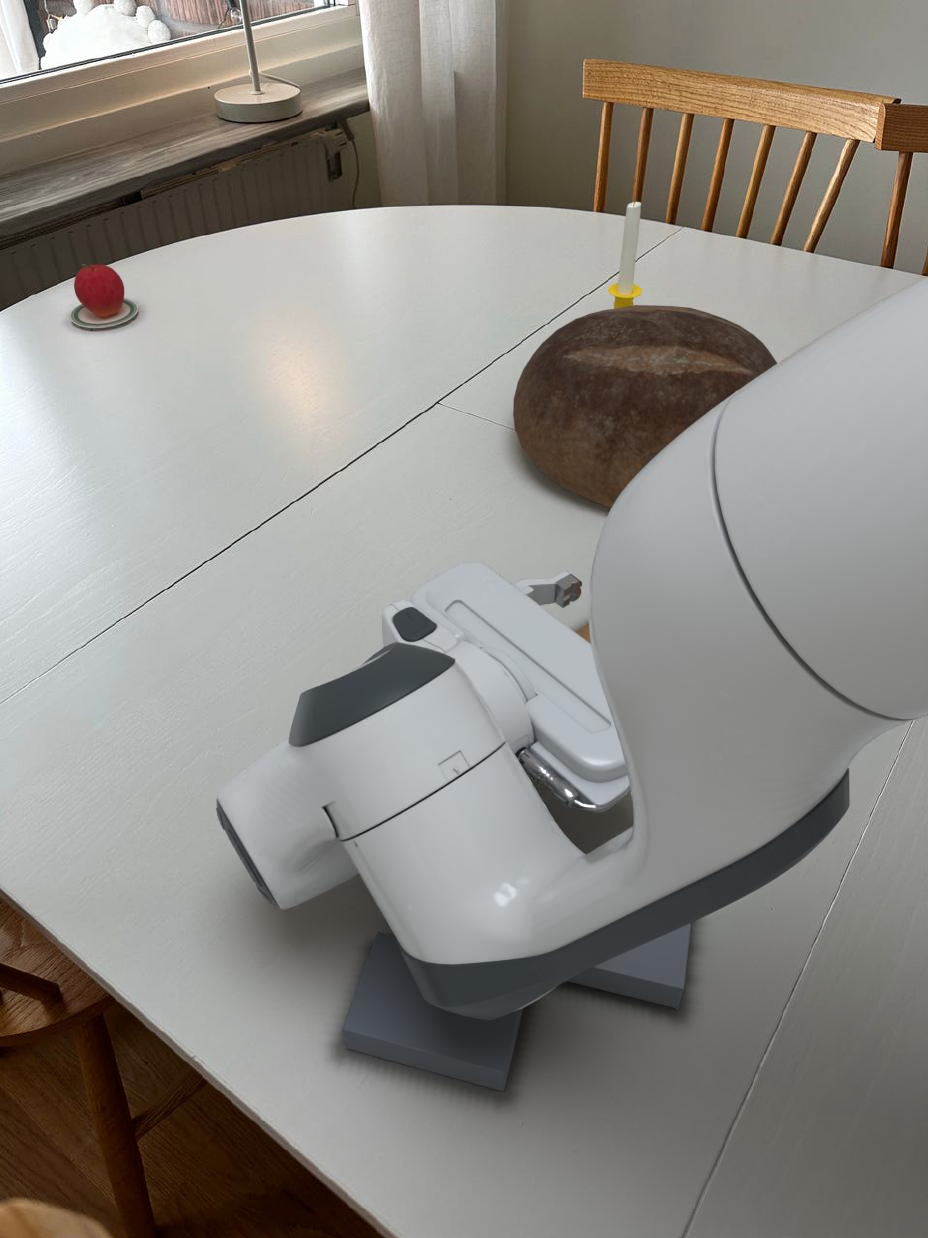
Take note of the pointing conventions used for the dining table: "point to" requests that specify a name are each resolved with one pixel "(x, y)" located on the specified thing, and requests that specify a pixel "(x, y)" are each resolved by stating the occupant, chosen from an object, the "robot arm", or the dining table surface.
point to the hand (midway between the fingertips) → (623, 617)
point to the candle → (628, 260)
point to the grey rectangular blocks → (476, 1048)
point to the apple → (101, 298)
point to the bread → (626, 390)
